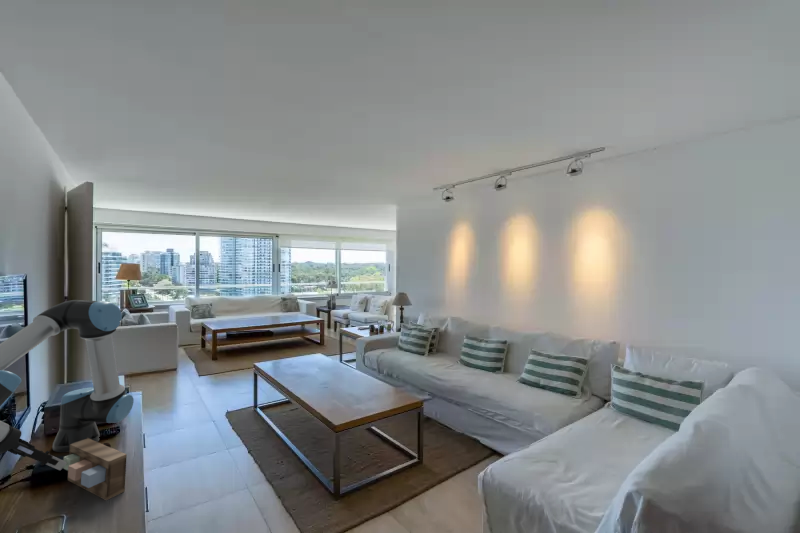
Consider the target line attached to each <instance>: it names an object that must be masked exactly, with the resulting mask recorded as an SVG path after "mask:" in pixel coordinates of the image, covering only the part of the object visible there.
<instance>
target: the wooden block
mask: <svg viewBox="0 0 800 533" xmlns="http://www.w3.org/2000/svg"><path fill="white" fill-rule="evenodd" d="M103 444H104V443H101V442H99V441H98V442H96V441H94V440H91V439H89V438H87V439H84V440H81V441H78V442H75V443H72V444H70V451H69V452H68V453H69V454H68V455H70V454H73V453H74V454H77V455H79V456H80V461H82V460H85V459H87V460H90V461H92V462H93V464H92V468H93V467H95V466H98V465H100V466H103V467H105V468H106V478H105V481H103V482H101V483H99V484H97V485H94V486H92V487H90V488H87V487H85V486H83V485H81V479H79V480H77V481H74V480H72V479H70V478H68V477H67V481H68V482H71V483H72V484H74V485H76V486H78V487H80V488H81V489H84V490H86V491H87V492H89V493H91V494H93V495H95V496H97V497H99V498H101V499H102V500H104V501H108V500H110V499H112V498H114V497H116V496H118V495H120V494H122V493H124V492H125V490H126V487H125V486H126V474H127V473H126V472H127V455H128V454H127V453H124V452H122V451H120V450H117V449H115V448H113V447H111V448H110V447H108V446H106V445H103Z"/></svg>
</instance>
